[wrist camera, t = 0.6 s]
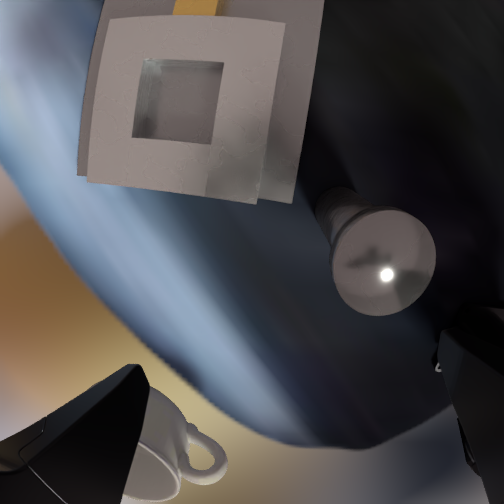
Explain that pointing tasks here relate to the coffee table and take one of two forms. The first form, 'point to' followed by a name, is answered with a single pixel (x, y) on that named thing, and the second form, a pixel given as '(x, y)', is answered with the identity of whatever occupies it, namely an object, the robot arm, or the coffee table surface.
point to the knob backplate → (200, 96)
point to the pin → (375, 252)
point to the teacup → (168, 453)
